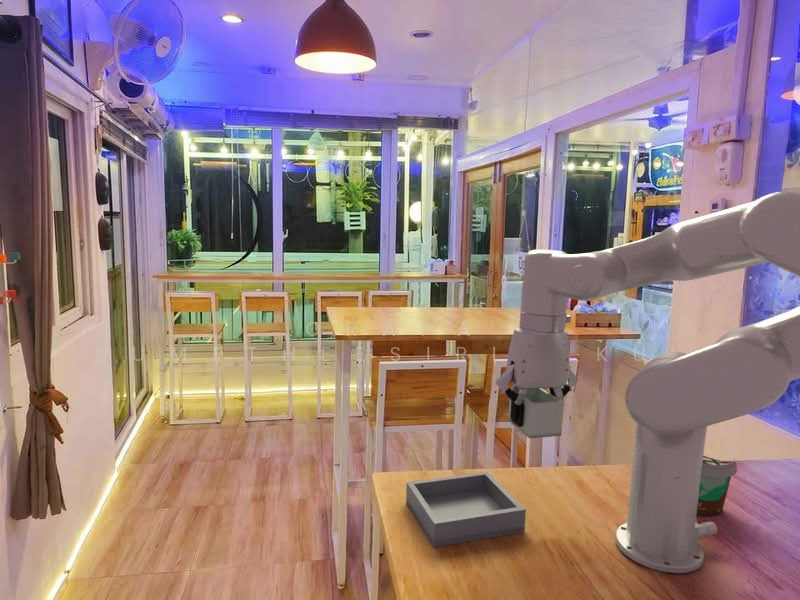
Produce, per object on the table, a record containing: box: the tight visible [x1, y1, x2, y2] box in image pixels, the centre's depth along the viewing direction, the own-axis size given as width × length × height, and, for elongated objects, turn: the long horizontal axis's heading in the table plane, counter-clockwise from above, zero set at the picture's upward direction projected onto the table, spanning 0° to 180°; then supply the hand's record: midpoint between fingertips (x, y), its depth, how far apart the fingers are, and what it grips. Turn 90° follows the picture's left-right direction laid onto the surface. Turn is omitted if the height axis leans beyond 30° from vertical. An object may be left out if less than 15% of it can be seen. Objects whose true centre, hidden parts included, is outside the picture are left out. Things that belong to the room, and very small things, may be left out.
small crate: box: [507, 388, 565, 439], centre depth 98 cm, size 6×8×6 cm
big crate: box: [405, 471, 527, 548], centre depth 96 cm, size 16×14×4 cm
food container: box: [696, 455, 738, 518], centre depth 99 cm, size 12×6×10 cm, turn 62°
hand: (534, 421), depth 98 cm, fingers closed on small crate, 6 cm apart
